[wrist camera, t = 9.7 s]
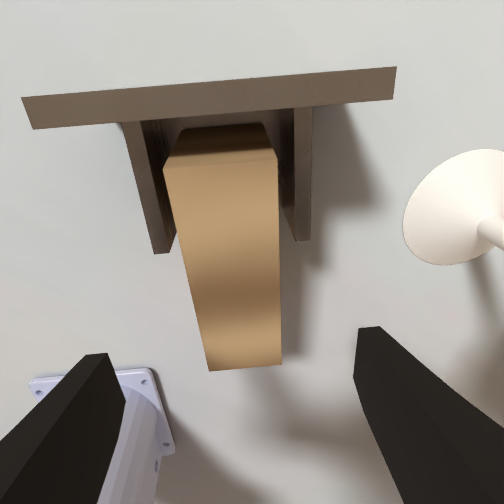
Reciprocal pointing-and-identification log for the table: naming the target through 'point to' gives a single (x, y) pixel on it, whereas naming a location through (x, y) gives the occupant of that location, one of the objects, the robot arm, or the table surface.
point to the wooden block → (230, 240)
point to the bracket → (210, 116)
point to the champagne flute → (458, 209)
